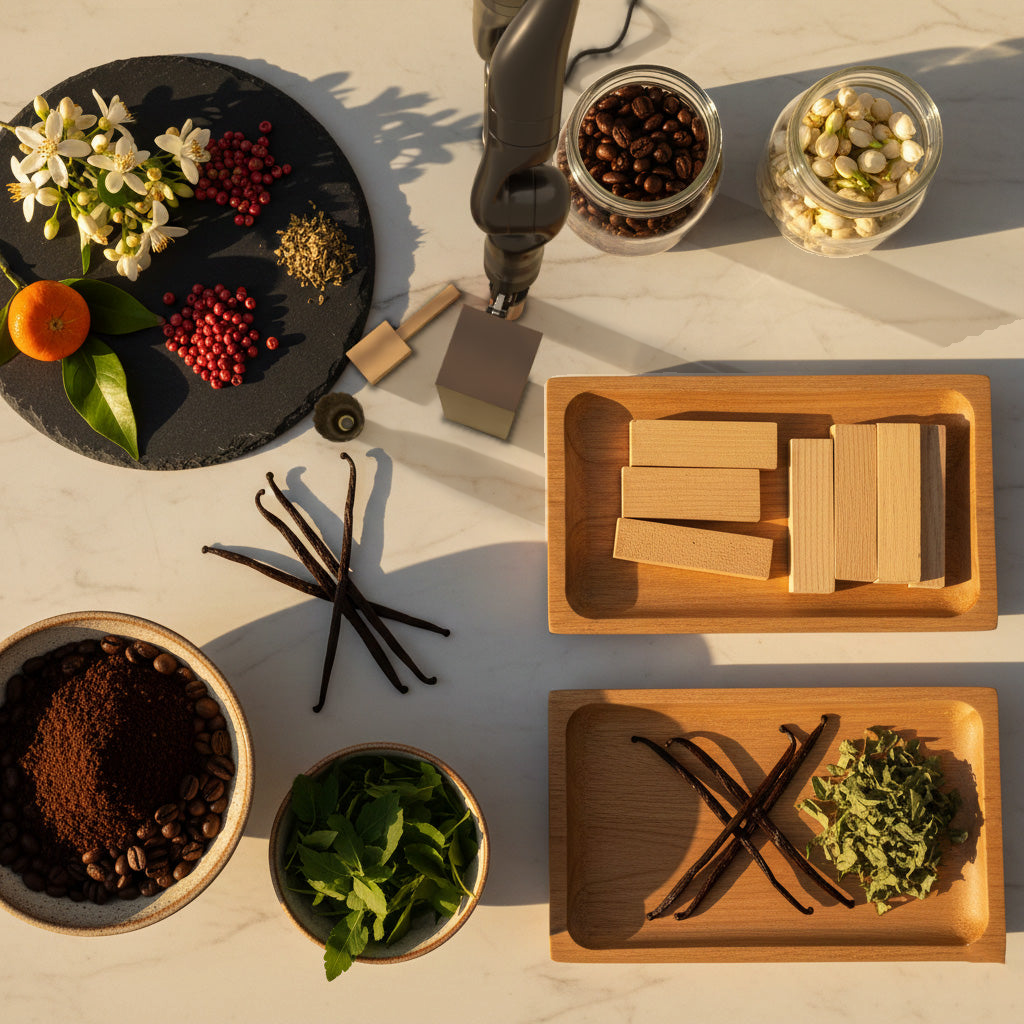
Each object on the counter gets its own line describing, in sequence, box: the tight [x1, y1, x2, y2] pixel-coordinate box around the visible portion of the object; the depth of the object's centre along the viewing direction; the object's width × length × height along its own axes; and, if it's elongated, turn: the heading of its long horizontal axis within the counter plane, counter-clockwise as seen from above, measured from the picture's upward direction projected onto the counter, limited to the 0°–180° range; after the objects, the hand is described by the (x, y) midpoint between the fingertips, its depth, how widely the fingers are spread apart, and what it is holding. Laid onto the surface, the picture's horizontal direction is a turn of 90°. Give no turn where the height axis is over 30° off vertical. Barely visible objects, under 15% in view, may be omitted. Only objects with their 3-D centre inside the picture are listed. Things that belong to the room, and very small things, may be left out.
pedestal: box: [434, 303, 544, 441], centre depth 109 cm, size 10×10×31 cm
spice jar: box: [489, 298, 526, 322], centre depth 120 cm, size 5×5×10 cm
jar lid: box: [488, 281, 531, 307], centre depth 115 cm, size 6×6×2 cm
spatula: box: [345, 283, 461, 386], centre depth 123 cm, size 6×20×2 cm, turn 130°
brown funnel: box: [312, 391, 366, 444], centre depth 120 cm, size 8×7×8 cm
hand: (508, 291), depth 118 cm, fingers open, 6 cm apart
